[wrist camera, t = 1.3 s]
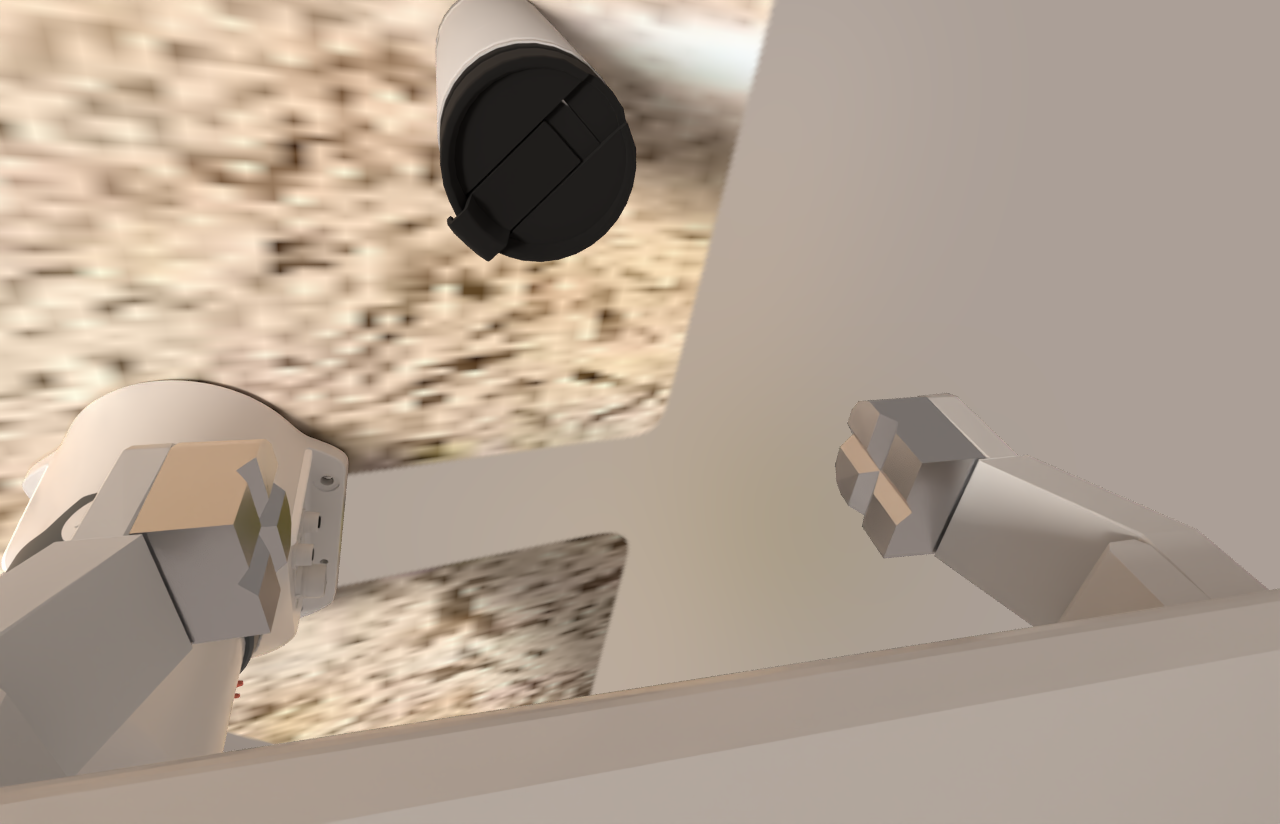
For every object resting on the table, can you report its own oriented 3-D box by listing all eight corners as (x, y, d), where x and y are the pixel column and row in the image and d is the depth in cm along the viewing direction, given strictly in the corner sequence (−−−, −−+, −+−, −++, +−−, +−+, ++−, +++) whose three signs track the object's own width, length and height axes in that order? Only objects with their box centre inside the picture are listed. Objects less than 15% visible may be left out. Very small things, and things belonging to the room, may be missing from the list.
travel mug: (404, 54, 36) (383, 174, 20) (496, -43, 35) (549, 6, 19) (493, 147, 40) (534, 310, 24) (580, 63, 38) (683, 177, 23)
